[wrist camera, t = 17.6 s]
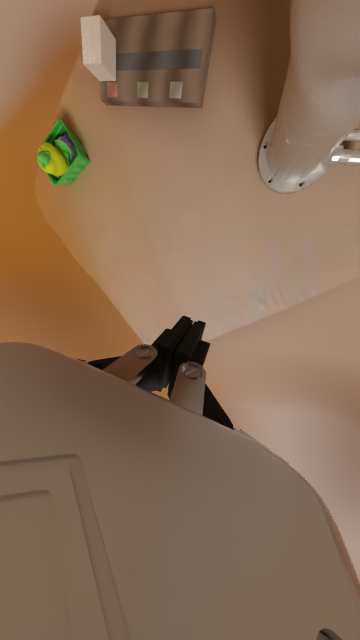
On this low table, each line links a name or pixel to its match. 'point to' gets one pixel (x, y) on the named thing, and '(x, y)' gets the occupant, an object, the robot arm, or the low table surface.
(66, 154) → the fruit basket
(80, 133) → the low table surface
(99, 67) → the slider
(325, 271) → the low table surface
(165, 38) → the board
